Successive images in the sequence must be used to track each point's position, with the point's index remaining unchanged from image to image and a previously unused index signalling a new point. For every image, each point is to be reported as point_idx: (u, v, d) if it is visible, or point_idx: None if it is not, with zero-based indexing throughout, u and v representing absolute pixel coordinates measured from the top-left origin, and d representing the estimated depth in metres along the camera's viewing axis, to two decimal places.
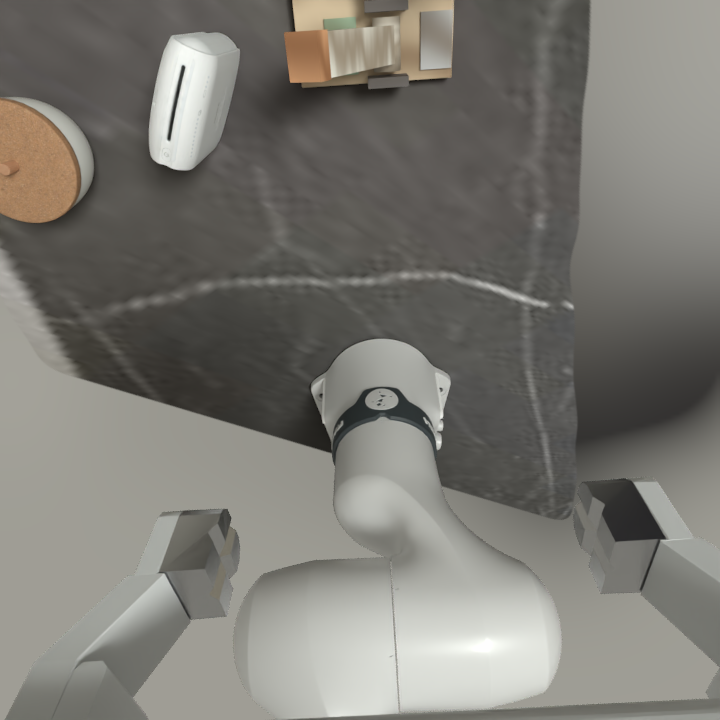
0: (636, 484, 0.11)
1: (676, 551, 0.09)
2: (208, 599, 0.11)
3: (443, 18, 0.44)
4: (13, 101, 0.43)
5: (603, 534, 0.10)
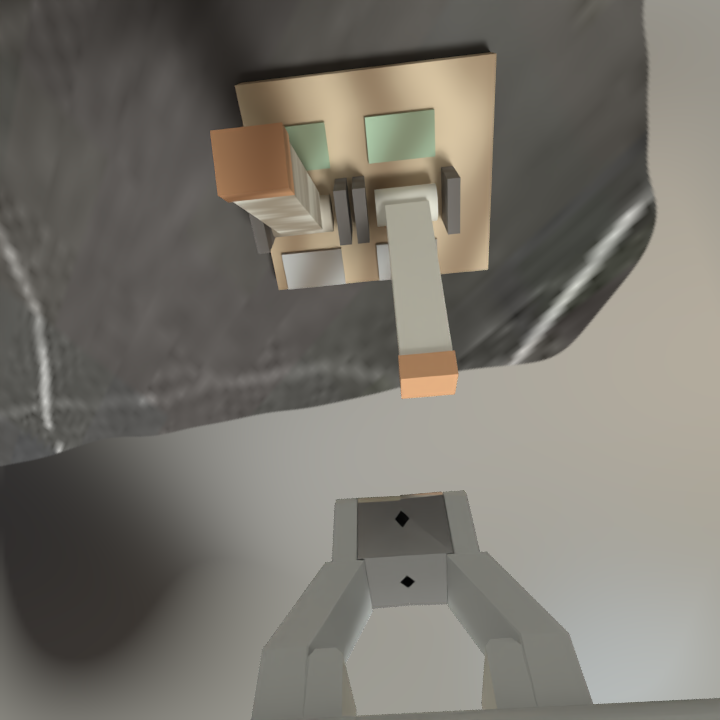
0: (446, 498, 0.11)
1: (457, 565, 0.09)
2: (398, 587, 0.10)
3: (336, 274, 0.38)
4: None
5: None
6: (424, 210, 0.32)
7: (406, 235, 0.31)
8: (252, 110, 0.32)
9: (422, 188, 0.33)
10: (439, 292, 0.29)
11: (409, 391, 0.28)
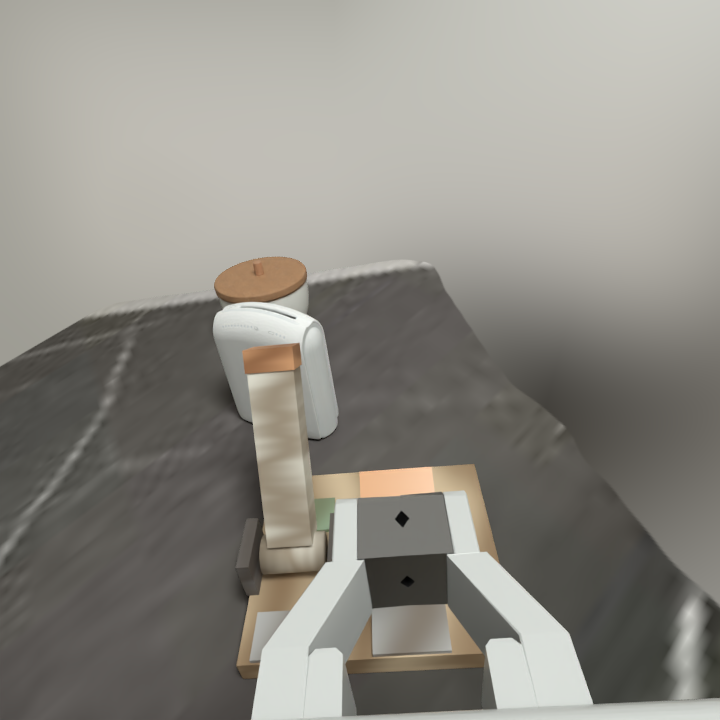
0: (446, 498, 0.11)
1: (457, 565, 0.09)
2: (398, 587, 0.10)
3: None
4: (301, 281, 0.57)
5: None
6: None
7: None
8: None
9: None
10: None
11: None
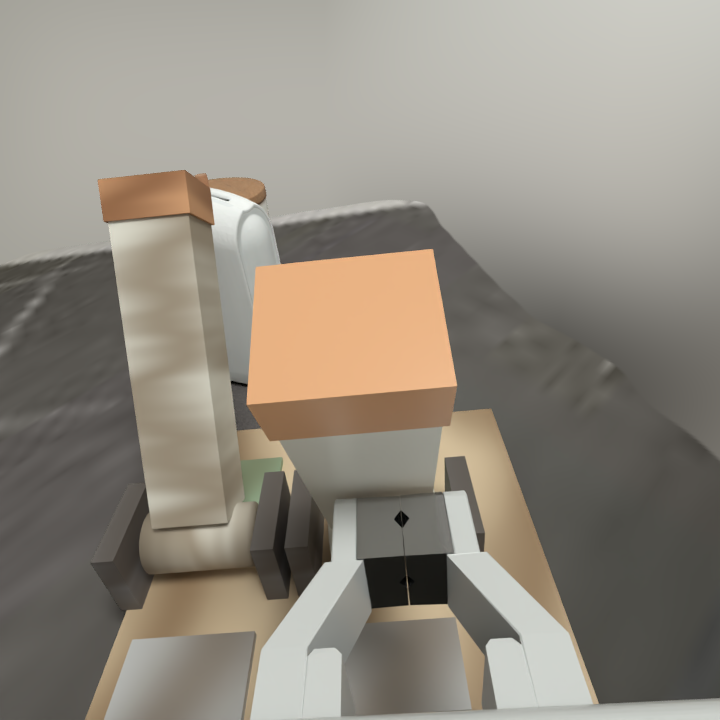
0: (446, 498, 0.11)
1: (457, 565, 0.09)
2: (397, 587, 0.10)
3: (226, 695, 0.16)
4: (257, 198, 0.44)
5: (404, 547, 0.10)
6: None
7: None
8: None
9: None
10: None
11: (279, 347, 0.08)
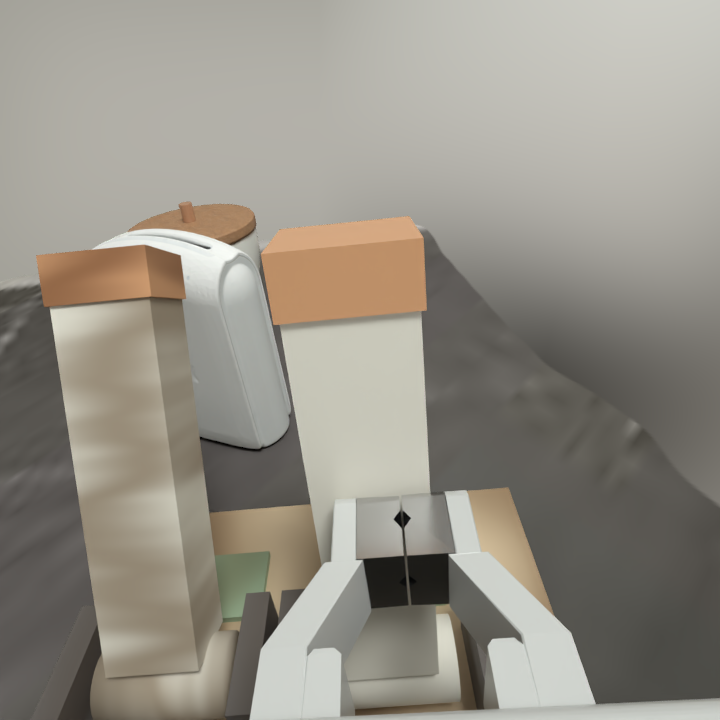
0: (447, 498, 0.11)
1: (459, 565, 0.09)
2: (396, 587, 0.10)
3: None
4: (246, 229, 0.41)
5: None
6: None
7: None
8: None
9: None
10: None
11: (290, 241, 0.10)
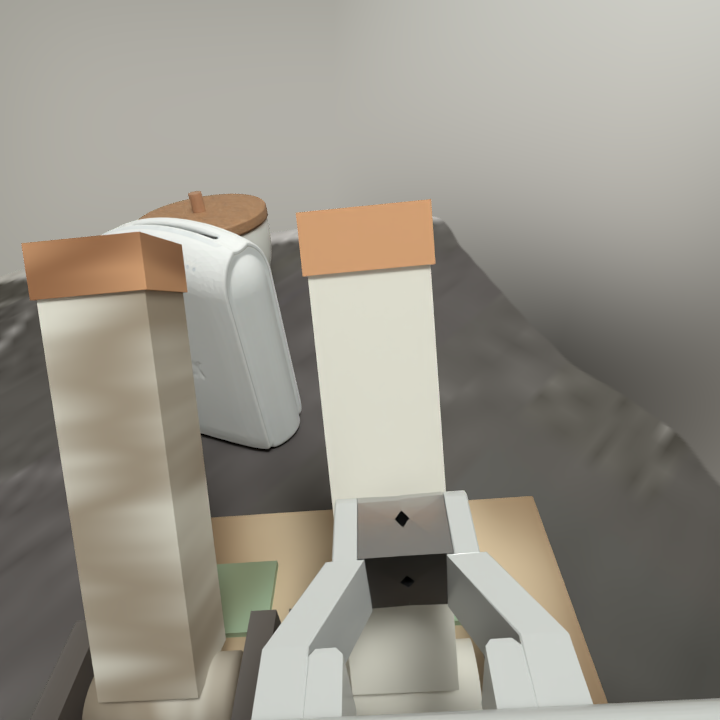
0: (446, 499, 0.11)
1: (457, 565, 0.09)
2: (398, 587, 0.10)
3: None
4: (257, 220, 0.39)
5: None
6: None
7: None
8: None
9: None
10: None
11: None
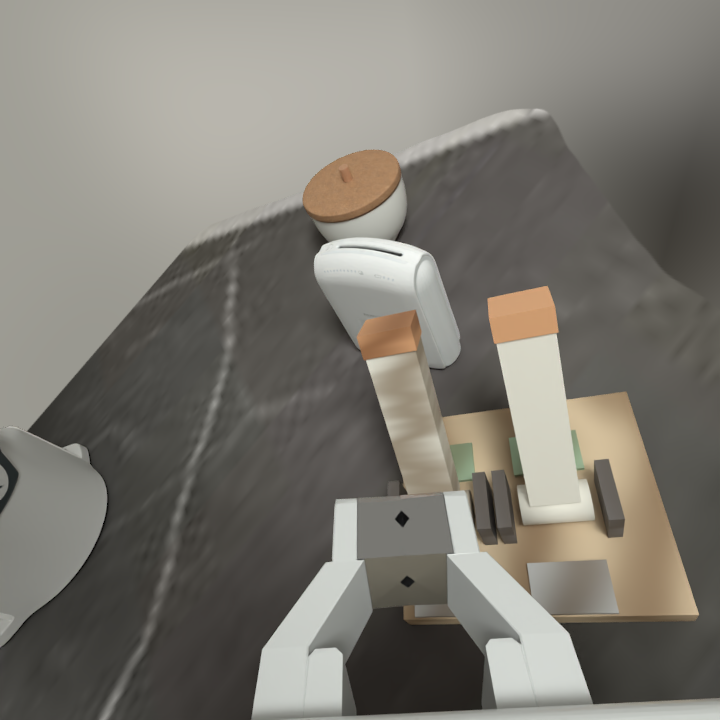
0: (446, 499, 0.11)
1: (457, 564, 0.09)
2: (398, 587, 0.10)
3: None
4: (396, 181, 0.50)
5: None
6: None
7: None
8: None
9: None
10: None
11: (497, 309, 0.25)
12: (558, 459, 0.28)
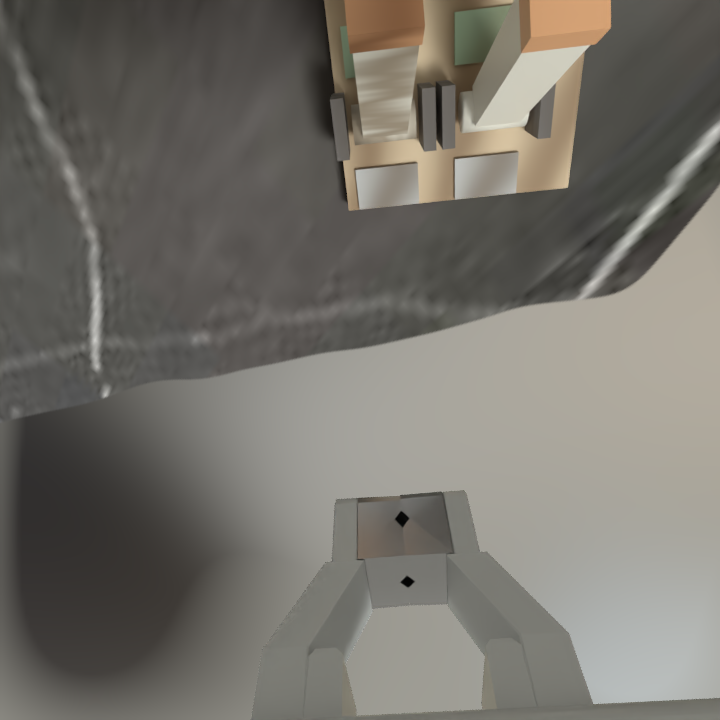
0: (446, 498, 0.11)
1: (458, 565, 0.09)
2: (398, 587, 0.10)
3: (410, 192, 0.36)
4: None
5: None
6: None
7: None
8: (337, 4, 0.30)
9: None
10: None
11: (542, 9, 0.19)
12: (520, 106, 0.28)
